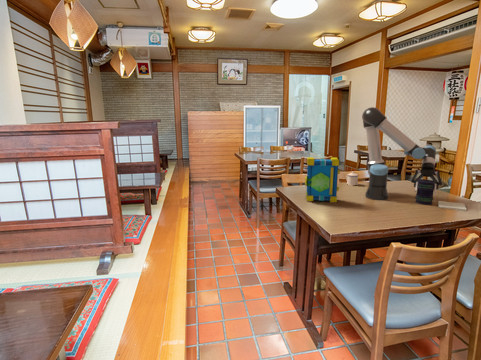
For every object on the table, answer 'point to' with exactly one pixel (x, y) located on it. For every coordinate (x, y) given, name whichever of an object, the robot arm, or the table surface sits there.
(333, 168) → the decorative book
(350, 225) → the table surface
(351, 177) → the teacup with lid
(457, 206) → the placemat
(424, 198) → the rusty oil drum
